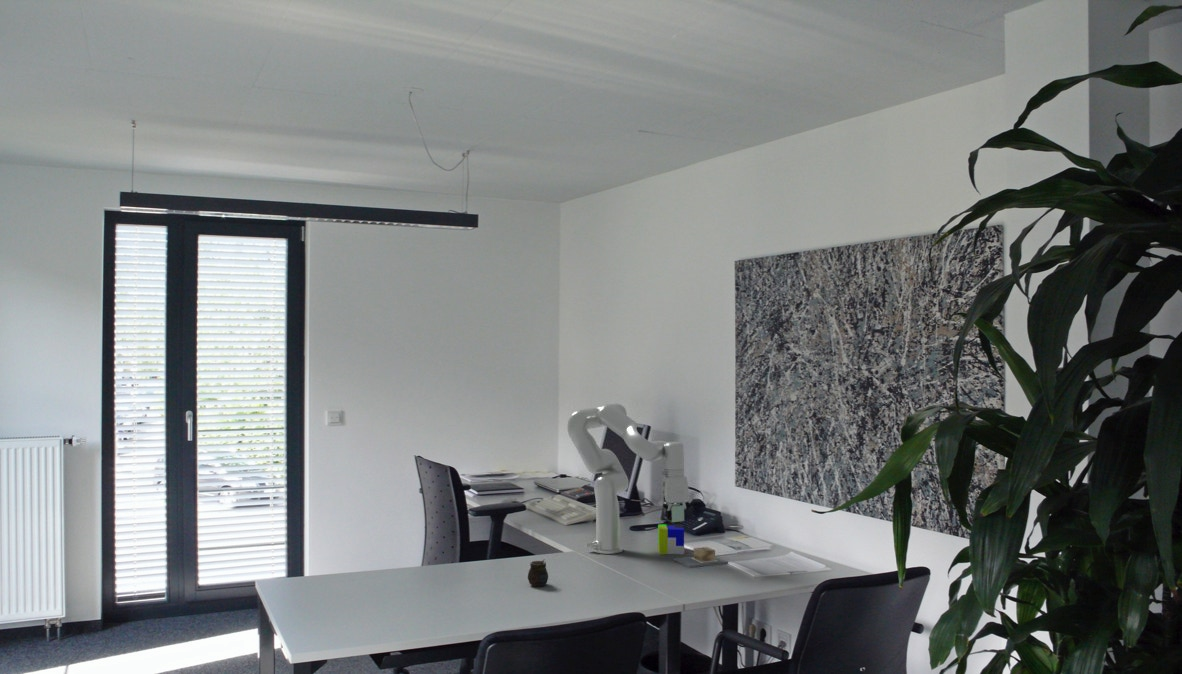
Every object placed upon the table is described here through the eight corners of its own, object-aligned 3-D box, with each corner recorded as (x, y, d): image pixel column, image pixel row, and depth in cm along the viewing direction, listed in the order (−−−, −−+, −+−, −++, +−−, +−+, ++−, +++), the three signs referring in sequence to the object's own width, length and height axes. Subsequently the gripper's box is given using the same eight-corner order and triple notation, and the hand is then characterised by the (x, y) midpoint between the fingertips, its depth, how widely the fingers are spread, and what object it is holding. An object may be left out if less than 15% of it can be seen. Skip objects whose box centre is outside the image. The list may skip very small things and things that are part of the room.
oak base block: (701, 561, 338) (701, 551, 338) (694, 558, 344) (694, 548, 344) (715, 560, 340) (715, 550, 341) (707, 557, 346) (707, 546, 346)
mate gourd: (538, 581, 314) (539, 553, 314) (553, 585, 308) (553, 557, 308) (523, 584, 308) (523, 556, 309) (537, 589, 303) (538, 560, 303)
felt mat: (689, 567, 333) (689, 565, 333) (674, 560, 344) (674, 558, 344) (728, 563, 339) (728, 561, 339) (712, 556, 350) (712, 554, 350)
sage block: (672, 522, 342) (672, 506, 342) (667, 520, 347) (666, 504, 347) (684, 521, 344) (683, 505, 344) (678, 518, 349) (678, 503, 349)
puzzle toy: (684, 554, 355) (684, 529, 355) (659, 554, 355) (659, 529, 355) (682, 548, 365) (682, 524, 365) (658, 548, 365) (658, 524, 365)
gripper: (659, 476, 339) (660, 523, 339) (698, 473, 345) (699, 519, 345) (651, 473, 346) (652, 520, 346) (689, 470, 352) (690, 516, 352)
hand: (675, 519), depth 345 cm, fingers closed on sage block, 5 cm apart
